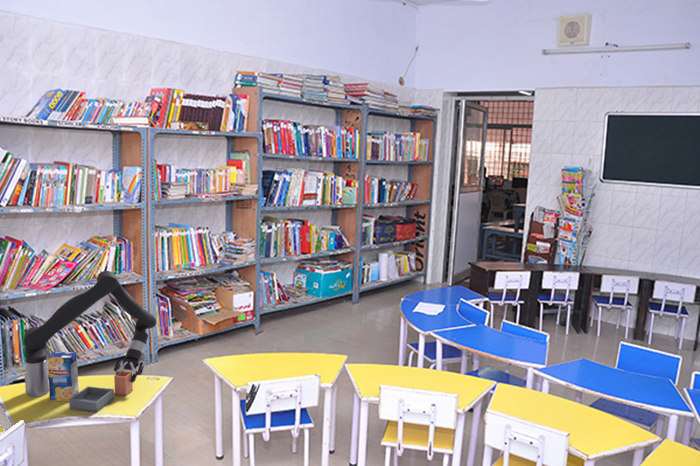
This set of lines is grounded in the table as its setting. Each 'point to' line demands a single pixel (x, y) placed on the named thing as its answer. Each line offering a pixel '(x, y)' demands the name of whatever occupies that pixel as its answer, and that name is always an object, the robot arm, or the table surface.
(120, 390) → the orange square cup
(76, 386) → the blue food box
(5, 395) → the table surface
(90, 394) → the charcoal crate
